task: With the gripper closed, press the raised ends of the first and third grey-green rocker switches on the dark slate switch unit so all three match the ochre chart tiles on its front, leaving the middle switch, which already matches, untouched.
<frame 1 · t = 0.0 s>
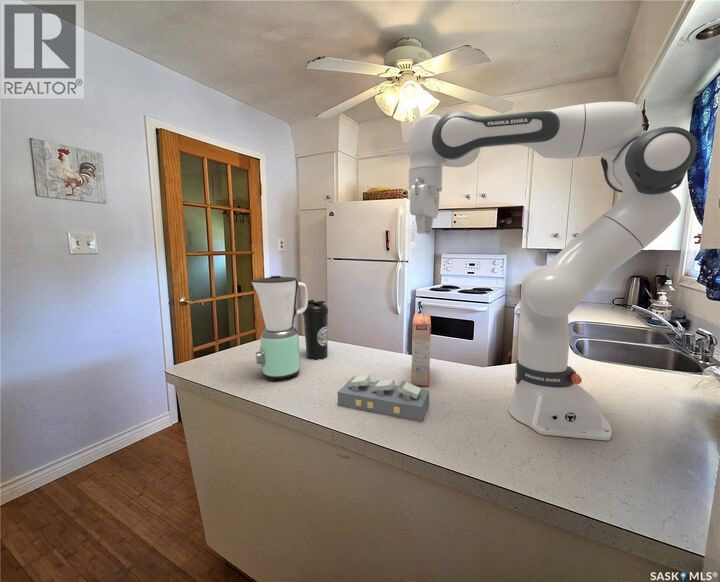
hand: (424, 233, 91), 48 cm above the counter, tool pointing down, fingers open, 8 cm apart
switch A: (409, 389, 90), point 6 cm above the counter, hinge at -15.0°
switch C: (358, 381, 95), point 6 cm above the counter, hinge at 15.0°
blender: (283, 374, 116), on the counter
switch B: (383, 385, 93), point 6 cm above the counter, hinge at 15.0°
cracker box: (420, 378, 111), on the counter
water bottle: (317, 356, 134), on the counter
switch unit: (383, 404, 93), on the counter
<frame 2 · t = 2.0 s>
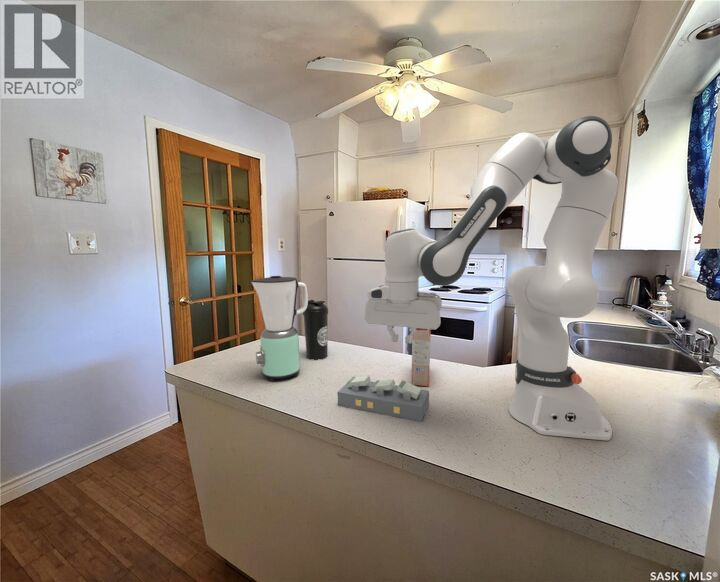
hand: (401, 342, 88), 19 cm above the counter, tool pointing down, fingers open, 3 cm apart
nothing on the counter moved.
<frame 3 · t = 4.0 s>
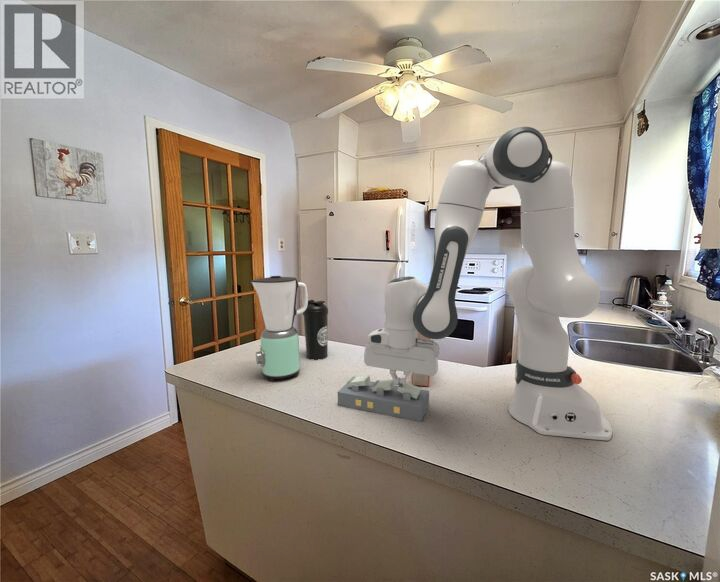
hand: (399, 384, 90), 7 cm above the counter, tool pointing down, fingers closed
switch A: (409, 389, 90), point 6 cm above the counter, hinge at -14.8°, touching gripper
everything else where it was.
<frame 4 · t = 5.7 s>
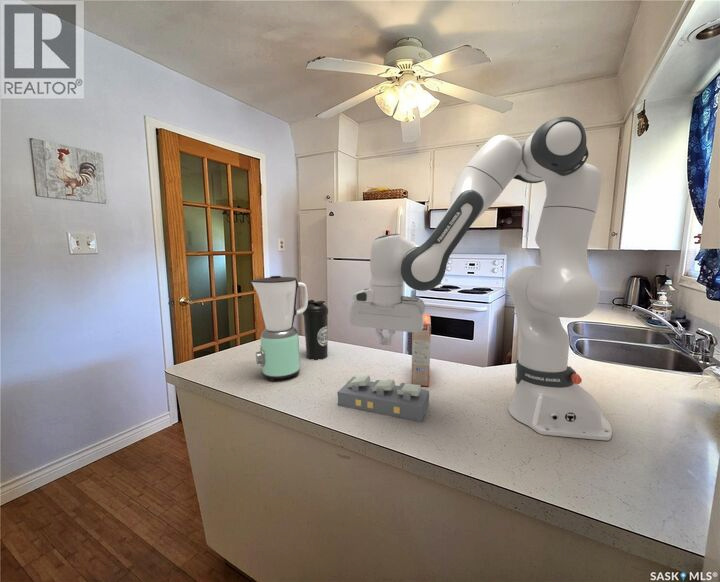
hand: (385, 344, 90), 18 cm above the counter, tool pointing down, fingers closed
switch A: (409, 389, 90), point 6 cm above the counter, hinge at 3.5°
switch B: (383, 385, 93), point 6 cm above the counter, hinge at 12.7°
everything else where it was.
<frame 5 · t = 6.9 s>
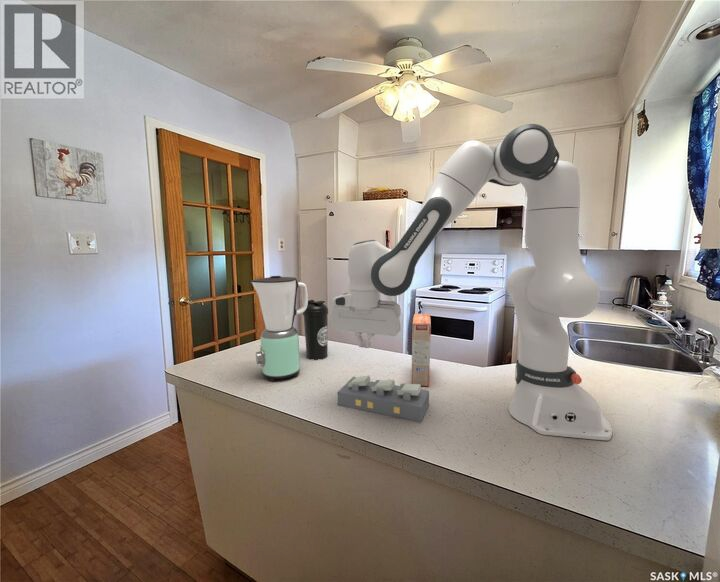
hand: (364, 347, 93), 16 cm above the counter, tool pointing down, fingers closed
switch A: (409, 389, 90), point 6 cm above the counter, hinge at 8.1°
switch B: (383, 385, 93), point 6 cm above the counter, hinge at 12.1°
everything else where it was.
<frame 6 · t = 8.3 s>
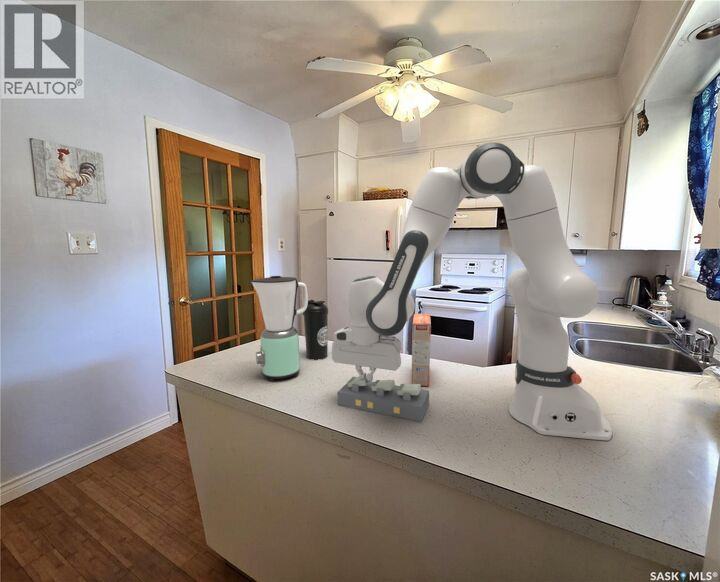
hand: (366, 380, 94), 7 cm above the counter, tool pointing down, fingers closed
switch A: (409, 389, 90), point 6 cm above the counter, hinge at 10.1°
switch C: (358, 381, 95), point 6 cm above the counter, hinge at 14.7°, touching gripper
everything else where it was.
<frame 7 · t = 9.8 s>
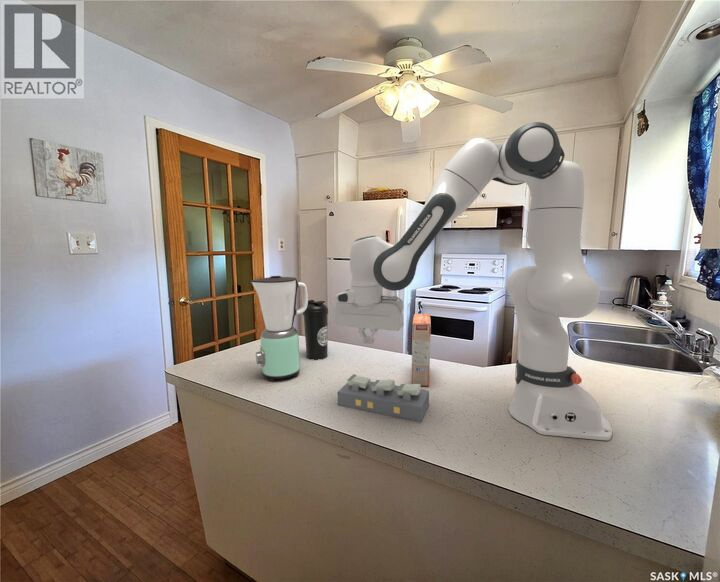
hand: (368, 342, 93), 18 cm above the counter, tool pointing down, fingers closed
switch A: (409, 389, 90), point 6 cm above the counter, hinge at 10.9°
switch C: (358, 381, 95), point 6 cm above the counter, hinge at -3.7°
everything else where it was.
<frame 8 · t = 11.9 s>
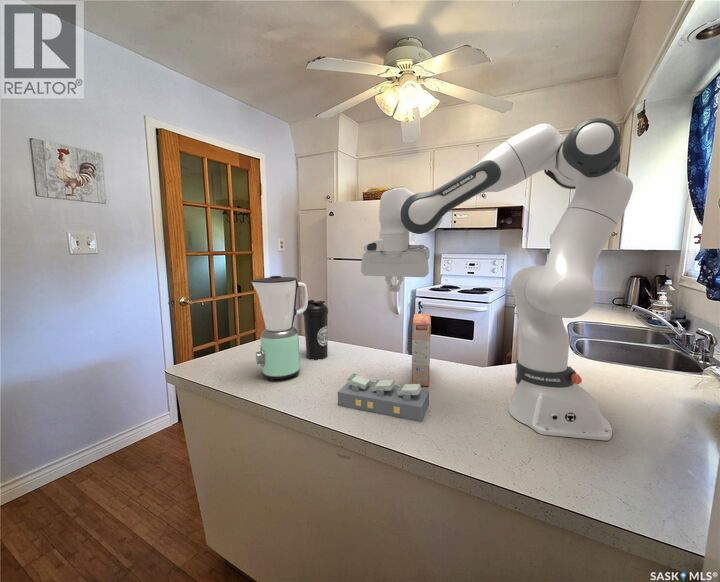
hand: (394, 291, 99), 31 cm above the counter, tool pointing down, fingers closed
switch C: (358, 381, 95), point 6 cm above the counter, hinge at -10.6°
everything else where it was.
at the end: switch A at +11° (first picture: -15°); switch B at +12° (first picture: +15°); switch C at -11° (first picture: +15°) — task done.
